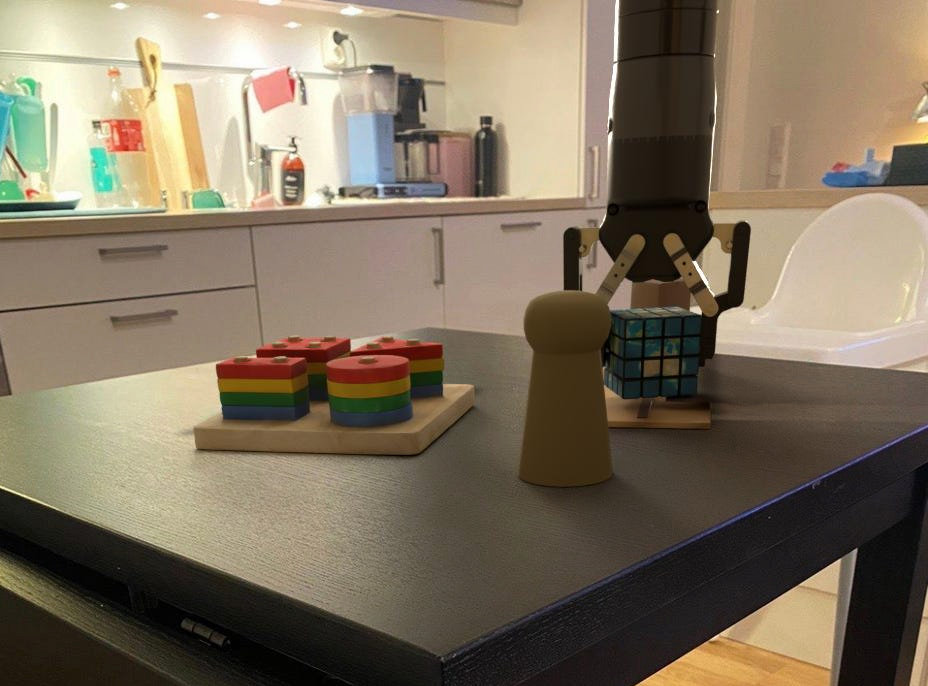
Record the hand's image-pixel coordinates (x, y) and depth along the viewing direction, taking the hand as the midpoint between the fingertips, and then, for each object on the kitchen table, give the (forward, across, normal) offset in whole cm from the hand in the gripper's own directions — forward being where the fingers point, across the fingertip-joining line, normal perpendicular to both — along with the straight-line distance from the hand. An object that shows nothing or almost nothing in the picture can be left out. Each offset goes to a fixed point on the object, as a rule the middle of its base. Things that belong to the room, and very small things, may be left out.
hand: (649, 365), depth 77 cm
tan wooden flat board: (+3, 0, -7) cm, 8 cm away
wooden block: (+3, 0, -14) cm, 14 cm away
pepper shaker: (+4, +4, +20) cm, 21 cm away
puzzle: (+2, 0, 0) cm, 2 cm away
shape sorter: (+4, +23, +8) cm, 25 cm away
